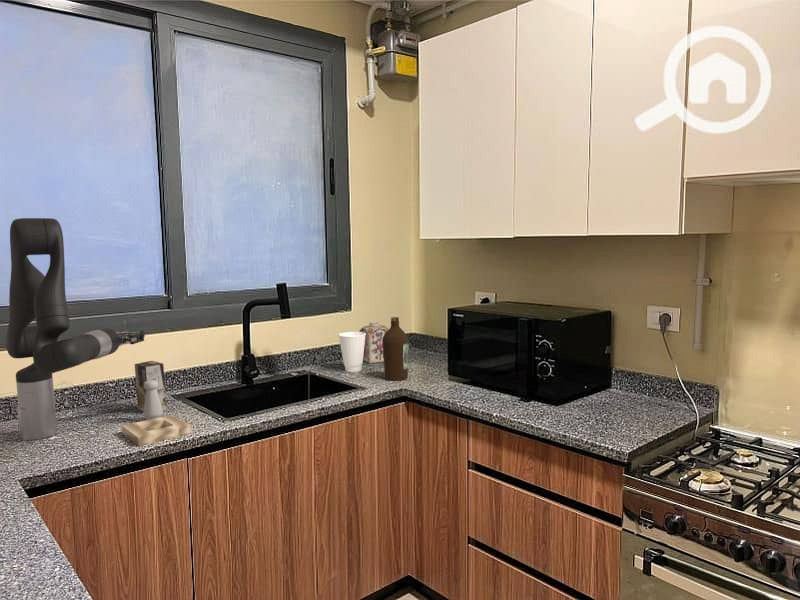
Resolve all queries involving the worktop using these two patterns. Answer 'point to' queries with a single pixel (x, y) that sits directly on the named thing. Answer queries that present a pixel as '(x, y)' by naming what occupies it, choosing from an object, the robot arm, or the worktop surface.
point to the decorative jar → (373, 342)
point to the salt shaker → (152, 401)
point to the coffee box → (146, 373)
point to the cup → (352, 350)
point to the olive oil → (395, 352)
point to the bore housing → (156, 429)
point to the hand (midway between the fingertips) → (128, 334)
